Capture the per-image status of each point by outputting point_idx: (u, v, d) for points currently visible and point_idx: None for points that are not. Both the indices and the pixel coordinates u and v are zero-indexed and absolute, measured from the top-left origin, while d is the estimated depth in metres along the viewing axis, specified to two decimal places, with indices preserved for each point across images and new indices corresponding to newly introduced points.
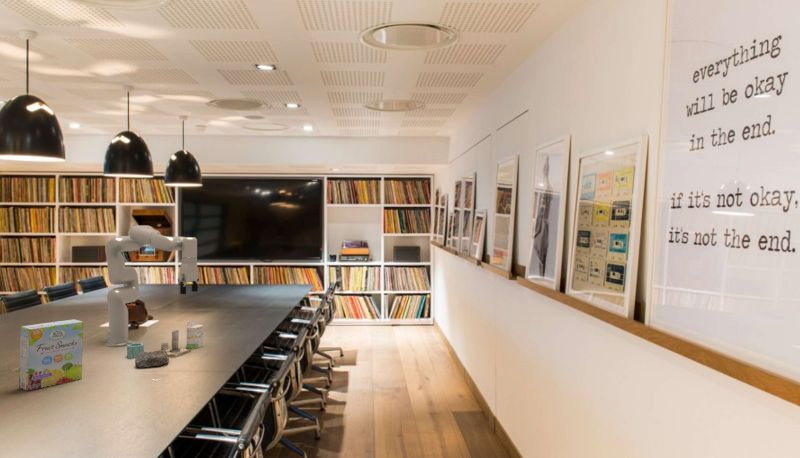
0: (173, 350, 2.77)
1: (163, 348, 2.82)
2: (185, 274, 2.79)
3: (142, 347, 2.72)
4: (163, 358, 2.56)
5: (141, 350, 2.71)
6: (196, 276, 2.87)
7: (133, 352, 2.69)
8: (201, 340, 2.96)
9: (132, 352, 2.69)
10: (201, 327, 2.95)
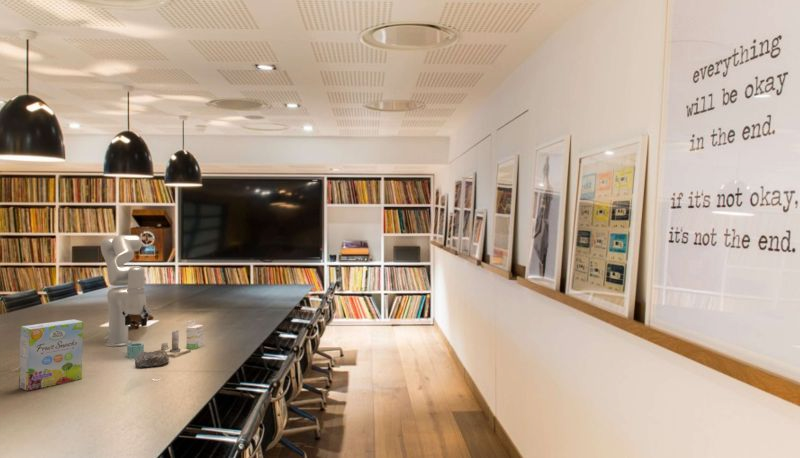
0: (173, 350, 2.77)
1: (163, 348, 2.82)
2: (145, 305, 2.72)
3: (142, 347, 2.72)
4: (163, 358, 2.56)
5: (141, 350, 2.71)
6: None
7: (133, 352, 2.69)
8: (201, 340, 2.96)
9: (132, 352, 2.69)
10: (201, 327, 2.95)
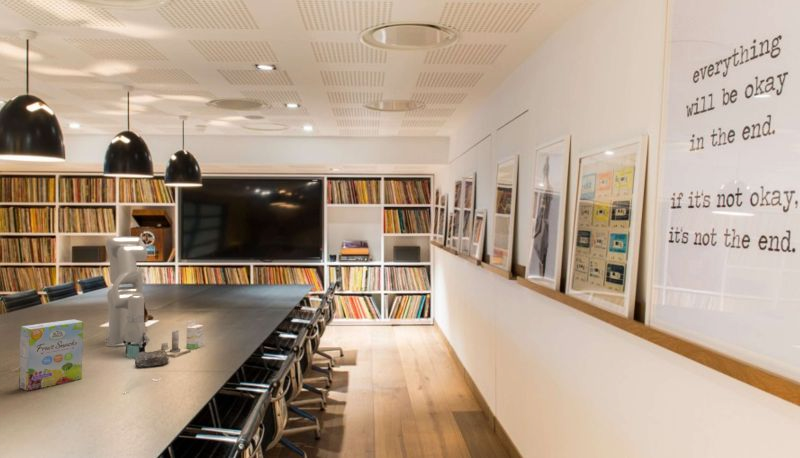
0: (173, 350, 2.77)
1: (163, 348, 2.82)
2: (145, 333, 2.72)
3: None
4: (163, 358, 2.57)
5: None
6: None
7: (133, 352, 2.69)
8: (201, 340, 2.96)
9: (132, 352, 2.69)
10: (201, 327, 2.95)
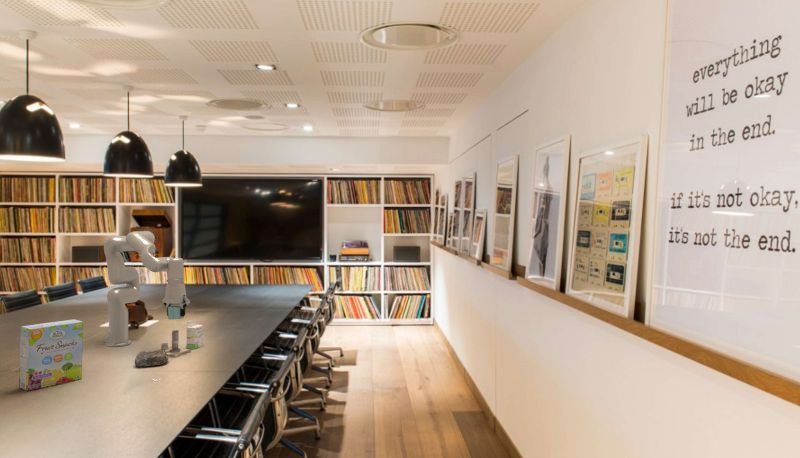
0: (173, 350, 2.77)
1: (163, 348, 2.82)
2: (185, 294, 2.78)
3: None
4: (163, 357, 2.57)
5: None
6: None
7: (174, 313, 2.75)
8: (201, 340, 2.96)
9: (173, 313, 2.75)
10: (201, 327, 2.95)
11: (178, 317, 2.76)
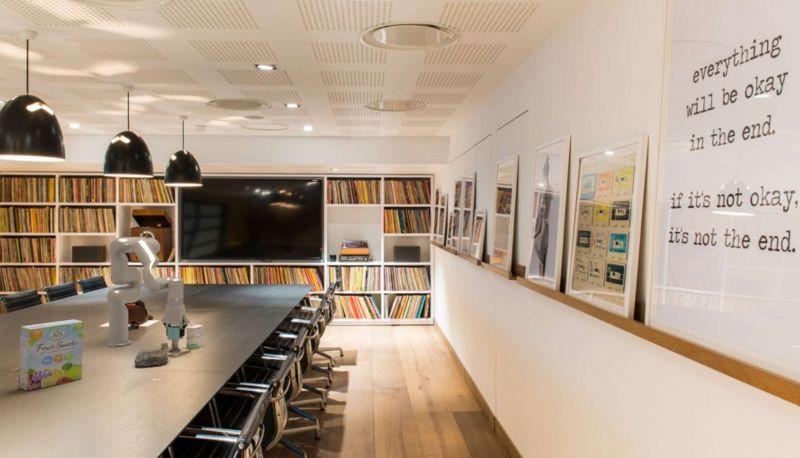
0: (173, 350, 2.77)
1: (163, 348, 2.82)
2: (185, 315, 2.79)
3: None
4: (163, 357, 2.57)
5: None
6: None
7: (174, 334, 2.75)
8: (201, 340, 2.96)
9: (173, 333, 2.75)
10: (201, 327, 2.95)
11: (177, 337, 2.76)
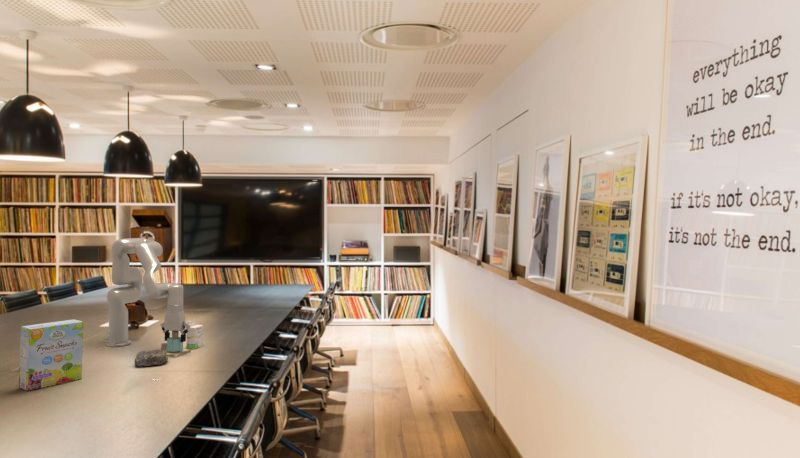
0: None
1: (163, 348, 2.82)
2: (185, 321, 2.79)
3: None
4: (163, 357, 2.58)
5: (181, 343, 2.78)
6: None
7: (173, 345, 2.75)
8: (201, 340, 2.96)
9: (173, 345, 2.75)
10: (201, 327, 2.95)
11: (177, 349, 2.76)
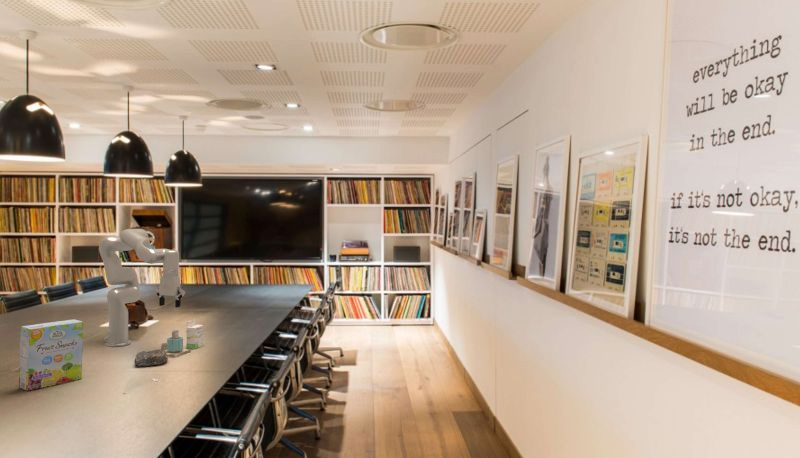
0: None
1: (163, 348, 2.82)
2: (180, 287, 2.80)
3: (181, 340, 2.79)
4: (162, 357, 2.58)
5: (181, 343, 2.78)
6: None
7: (173, 345, 2.75)
8: (201, 340, 2.96)
9: (173, 345, 2.75)
10: (201, 327, 2.95)
11: (177, 349, 2.76)
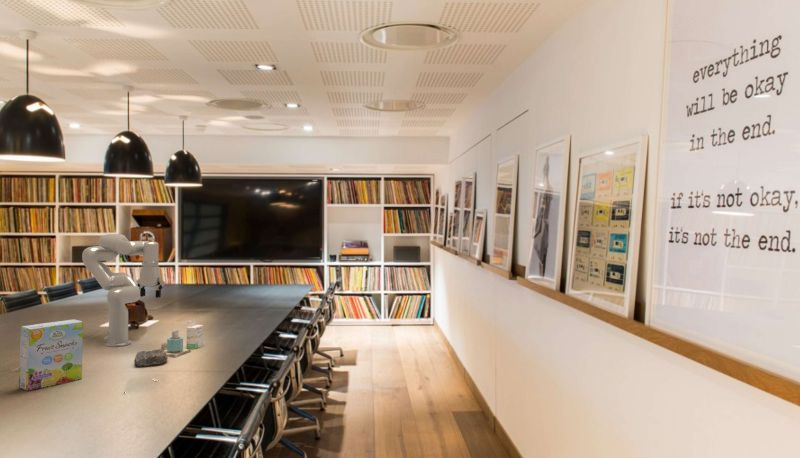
0: None
1: (163, 348, 2.82)
2: (160, 277, 2.86)
3: (181, 340, 2.79)
4: (162, 357, 2.58)
5: (181, 343, 2.78)
6: None
7: (173, 345, 2.75)
8: (201, 340, 2.96)
9: (173, 345, 2.75)
10: (201, 327, 2.95)
11: (177, 349, 2.76)
